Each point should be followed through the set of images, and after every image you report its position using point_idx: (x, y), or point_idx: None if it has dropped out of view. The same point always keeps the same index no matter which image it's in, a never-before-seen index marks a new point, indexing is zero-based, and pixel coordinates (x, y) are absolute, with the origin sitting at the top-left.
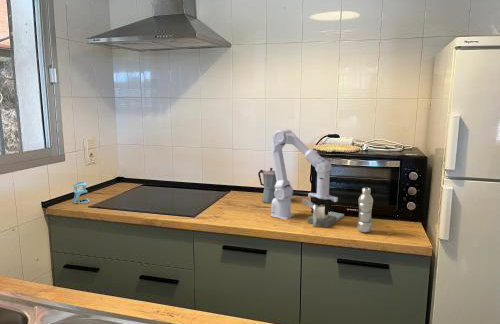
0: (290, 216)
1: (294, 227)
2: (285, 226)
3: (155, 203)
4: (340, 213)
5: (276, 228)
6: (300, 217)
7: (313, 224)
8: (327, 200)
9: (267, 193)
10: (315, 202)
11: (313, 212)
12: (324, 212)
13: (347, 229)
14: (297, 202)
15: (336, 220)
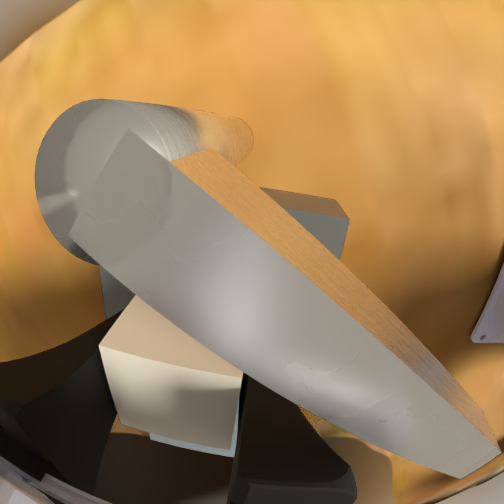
0: (495, 295)
1: (410, 50)
2: (478, 58)
3: None
4: (172, 444)
5: (499, 4)
6: (425, 332)
7: (237, 118)
8: (22, 455)
9: None
10: (257, 447)
11: (211, 118)
12: (128, 314)
13: (24, 231)
14: (432, 475)
15: None
